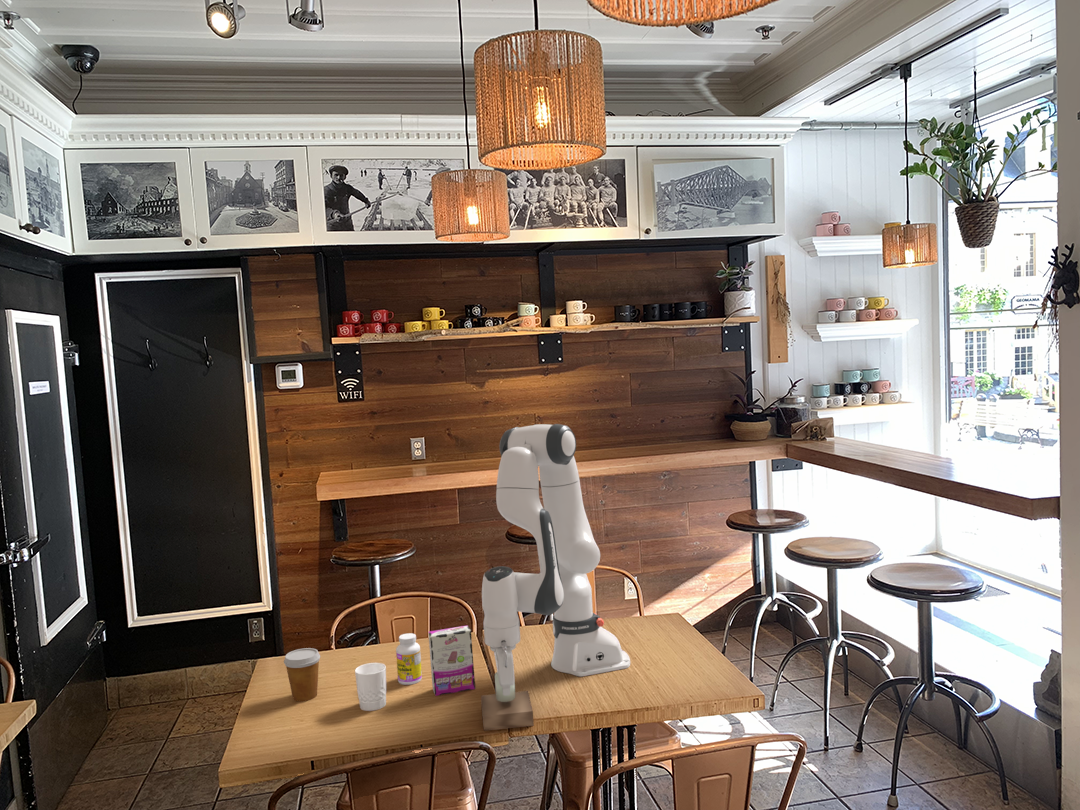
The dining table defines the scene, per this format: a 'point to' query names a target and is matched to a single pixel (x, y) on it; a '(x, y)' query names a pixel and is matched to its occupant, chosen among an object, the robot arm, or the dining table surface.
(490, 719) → the walnut block
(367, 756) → the dining table surface
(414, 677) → the supplement bottle
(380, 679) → the white cup
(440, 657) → the candy bar box
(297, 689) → the disposable coffee cup
